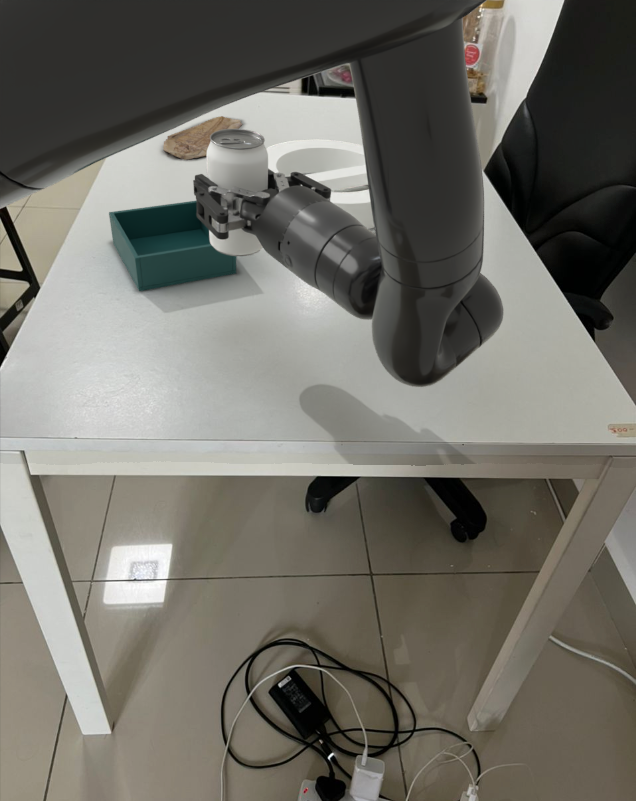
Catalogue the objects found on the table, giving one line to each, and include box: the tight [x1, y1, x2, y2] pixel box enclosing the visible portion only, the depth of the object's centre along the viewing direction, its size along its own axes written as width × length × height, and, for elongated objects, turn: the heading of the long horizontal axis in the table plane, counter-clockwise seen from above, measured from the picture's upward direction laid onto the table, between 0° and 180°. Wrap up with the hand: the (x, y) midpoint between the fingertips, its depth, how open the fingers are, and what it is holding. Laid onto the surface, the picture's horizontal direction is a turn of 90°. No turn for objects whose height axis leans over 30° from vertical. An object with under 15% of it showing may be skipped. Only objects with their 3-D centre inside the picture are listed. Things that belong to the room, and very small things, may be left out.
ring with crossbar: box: [265, 138, 375, 230], centre depth 115 cm, size 28×28×5 cm
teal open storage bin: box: [108, 200, 237, 292], centre depth 93 cm, size 14×14×5 cm
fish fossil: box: [162, 115, 243, 161], centre depth 132 cm, size 26×10×1 cm, turn 167°
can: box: [206, 128, 268, 257], centre depth 70 cm, size 6×6×12 cm
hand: (226, 177), depth 71 cm, fingers closed on can, 6 cm apart
